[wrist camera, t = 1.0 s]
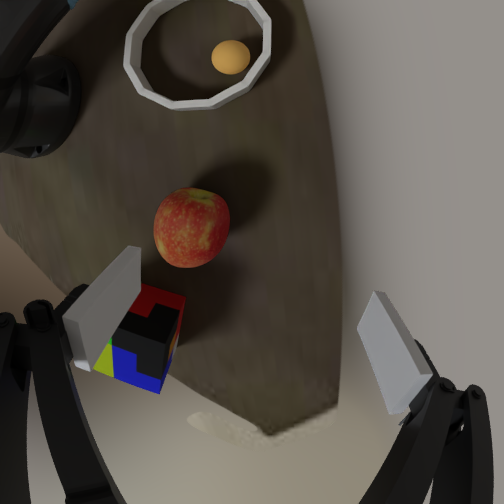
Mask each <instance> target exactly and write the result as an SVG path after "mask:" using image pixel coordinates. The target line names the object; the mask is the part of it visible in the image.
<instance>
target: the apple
mask: <svg viewBox="0 0 504 504" xmlns="http://www.w3.org/2000/svg"><path fill="white" fill-rule="evenodd" d="M229 225H230V214H229V209H228V206H227V203H226V202H225V200H224V199H223V198H222V197H220V196H219V195H217V194H215V193H212V192H209V191H206V190H201V189H198V188H192V187H189V188H181V189H178V190H176V191H174V192H172V193H171V194H170V195H168V196H167V197H166V198H165V199H164V200H163V201H162V203H161V204H160V206H159V208H158V210H157V213H156V216H155V221H154V239H155V243H156V246H157V249H158V251H159V253H160V254H161V256H162V257H163V258H164V259H165V260H166V261H167V262H168V263H169V264H171V265H173V266H177V267H183V268H191V267H197V266H200V265H203V264H205V263H207V262H209V261H210V260H212V259H213V258H214V257H215V256H216V255H217V254H218V253H219V252H220V251H221V249H222V247H223V246H224V244H225V242H226V239H227V236H228V232H229Z"/></svg>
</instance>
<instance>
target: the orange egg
mask: <svg viewBox="0 0 504 504" xmlns="http://www.w3.org/2000/svg"><path fill="white" fill-rule="evenodd" d="M249 61H250V52H249V50H248V48H247V47H246V46H245V45H244V44H243V43H241V42H239V41H235V40H228V41H224V42H222V43H220V44H218V45H217V46H216V47H215V49H214V50H213V52H212V63H213V65H214V67H215V68H216V69H217V70H218V71H220V72H222V73H225V74H236V73H239V72H241V71H243V70H244V69H245V68H246V67H247V66H248V64H249Z"/></svg>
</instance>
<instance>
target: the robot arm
mask: <svg viewBox="0 0 504 504" xmlns="http://www.w3.org/2000/svg"><path fill="white" fill-rule="evenodd" d="M77 1H78V0H0V153H2V152H3V153H7V154H11V155H15V156H19V157H23V158H36V157H41V156H45V155H48V154H50V153H52V152H53V151H55V150H56V149H57V148H58V147H59V146H60V145H61V144H62V143H63V142H64V140H65V139H66V138H67V136H68V135H69V133H70V131H71V129H72V127H73V125H74V123H75V120H76V117H77V114H78V110H79V105H80V98H81V84H80V78H79V74H78V72H77V69H76V68H75V66H74V65H73V63H72V62H71V61H69V60H68V59H66V58H64V57H60V56H55V55H43V56H39V57H35V58H32V56H33V55H34V54H35V52H36V51H37V49H38V48H39V47H40V45H41V44H42V43H43V41H44V40H45V39H46V37H47V36H48V35H49V33H50V32H51V31H52V30H53V29H54V27H55V26H56V25H57V24H58V23H59V22H60V20H61V19H62V18H63V17H64V16H65V15H66V14H67V13H68V12H69V10H70V9H71V10H72V9H73V8H74V7H75V4H76V3H77ZM140 291H141V248H139V247H134V246H129V245H128V246H127V247H126V248H125V249H124V250H123V251H122V252H121V253H120V254H119V255H118V256H117V257H116V258H115V260H114V261H113V262H112V263H111V264H110V265H109V266H108V267H107V268H106V269H105V270H104V271H103V272H102V273H101V274H100V275H99V276H98V277H97V278H96V279H95V280H94V281H93V283H92V284H91V285H86V284H82V285H80V286H78V287H76V288H74V289H73V290H72V291H71V292H70V293H69V296H67V297H66V298H65V299H64V301H62V302H61V303H60V305H58V306H57V307H56V309H55V310H53V306H52V304H51V303H50V302H49V301H46V300H35V301H32V302H30V303H28V304H27V305H26V306H25V308H24V311H23V313H24V317H25V320H26V323H27V324H21V323H20V324H19V323H16V320H15V317H14V316H13V315H12V314H11V313H7V312H3V313H0V504H31V499H30V491H29V483H28V470H27V442H26V441H27V435H26V434H27V410H28V396H29V386H30V377H31V371H32V372H33V379H34V385H35V391H36V396H37V402H38V407H39V411H40V416H41V420H42V424H43V428H44V432H45V436H46V439H47V443H48V446H49V449H50V452H51V456H52V459H53V462H54V465H55V468H56V470H57V473H58V476H59V478H60V481H61V483H62V486H63V489H64V491H65V494H66V499H65V503H66V504H127V503H126V502H125V500H124V498H123V496H122V495H121V493H120V491H119V489H118V487H117V486H116V484H115V482H114V480H113V478H112V476H111V474H110V472H109V470H108V468H107V466H106V464H105V462H104V460H103V458H102V455H101V453H100V451H99V448H98V447H97V444H96V441H95V439H94V437H93V434H92V432H91V429H90V427H89V424H88V421H87V419H86V416H85V413H84V411H83V408H82V405H81V402H80V398H79V395H78V392H77V389H76V386H75V383H74V379H73V375H72V372H71V368H70V365H69V363H70V361H71V360H72V358H73V359H74V362H75V364H76V366H77V367H79V368H82V369H84V370H87V371H90V372H91V371H92V369H93V367H94V365H95V364H96V362H97V360H98V359H99V357H100V355H101V353H102V352H103V350H104V348H105V347H106V345H107V343H108V342H109V340H110V338H111V337H112V335H113V334H114V332H115V330H116V329H117V327H118V326H119V324H120V322H121V321H122V319H123V318H124V316H125V314H126V313H127V311H128V310H129V308H130V307H131V305H132V304H133V302H134V300H135V299H136V297H137V296H138V294H139V293H140ZM357 330H358V332H359V334H360V337H361V340H362V342H363V345H364V347H365V350H366V352H367V355H368V357H369V360H370V363H371V365H372V368H373V371H374V373H375V376H376V379H377V381H378V384H379V387H380V390H381V392H382V395H383V398H384V401H385V404H386V407H387V409H388V413H389V414H399V413H402V412H403V411H404V410H405V409H406V408H407V407H408V405H409V407H410V410H411V412H409V414H408V415H407V416H406V417H405V418H404V419H403V420H402V421H401V422H400V424H399V425H401V424H402V423H403V425H402V428H401V430H400V432H399V434H398V436H397V438H396V440H395V442H394V444H393V446H392V448H391V450H390V452H389V454H388V456H387V458H386V460H385V461H384V463H383V465H382V467H381V469H380V470H379V472H378V474H377V475H376V477H375V479H374V480H373V482H372V484H371V485H370V487H369V488H368V490H367V492H366V493H365V495H364V496H363V498H362V499H361V501H360V502H359V504H423V502H424V500H425V497H426V495H427V493H428V490H429V488H430V485H431V483H432V480H433V486H432V493H431V498H430V503H429V504H493V488H494V482H493V481H494V473H493V450H492V438H491V428H490V421H489V415H488V407H487V401H486V396H485V393H484V392H483V390H482V389H481V388H480V387H479V386H477V385H473V384H472V385H470V386H469V387H468V388H467V389H466V390H465V391H460V390H456V387H455V385H454V384H453V383H452V382H451V381H450V380H449V379H447V378H444V377H440V376H439V374H438V372H437V370H436V369H435V367H434V365H433V363H432V361H431V360H430V358H429V356H428V355H427V354H426V351H425V350H424V348H423V346H422V345H421V344H420V343H419V342H418V341H417V340H415V339H413V337H412V336H411V334H410V332H409V330H408V329H407V327H406V326H405V324H404V322H403V321H402V319H401V317H400V316H399V314H398V313H397V311H396V309H395V308H394V306H393V304H392V303H391V301H390V300H389V298H388V297H387V295H386V294H385V293H384V292H379V291H373V294H372V296H371V298H370V301H369V303H368V305H367V308H366V310H365V312H364V314H363V316H362V318H361V320H360V323H359V325H358V327H357ZM463 424H464V427H463V430H462V431H461V426H462V425H463ZM433 477H434V478H433Z"/></svg>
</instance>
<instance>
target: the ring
mask: <svg viewBox="0 0 504 504" xmlns="http://www.w3.org/2000/svg"><path fill="white" fill-rule="evenodd" d="M184 1H185V0H154V1H152V2H150V3H149V4H147V5H146V6H145V8H144V9H143V10H142V12H141V13H140V15H139V16H138V17H137V19H136V20H135V22H134V23H133V25H132V26H131V28H130V29H129V31H128V32H127V34H126V41H125V51H124V63H123V66H124V69H125V70H126V72H127V74H128V76H129V78H130V79H131V81H132V83H133V85H134V86H135V88H136V90H137V92H138V93H139V94H140V95H142V96H145V97H147V98H149V99H151V100H153V101H155V102H157V103H159V104H161V105H163V106H165V107H167V108H169V109H173V110H177V111H185V110H204V109H217V108H219V107H220V106H222V105H224V104H226V103H228V102H229V101H231V100H233V99H235V98H237V97H239V96H241V95H243V94H245V93H246V92H248V91H249V90H251V88H252V87H253V85H254V84H255V82H256V81H257V79H258V78H259V77H260V75H261V74H262V72H263V71H264V69H265V68H266V67H267V65H268V64H269V62H270V58H271V19H270V17H269V16H268V14H267V13H266V12H265V10H264V9H263V8H262V6H261V5H260V4H259V3H258V1H257V0H229V1H232V2H234V3H237V4H239V5H242V6H244V7H247V8H248V10H249V11H250V12H251V14H252V15H253V16H254V18H255V19H256V20H257V22H258V23H259V25H260V26H261V27H262V29H263V52H262V54H261V55H260V56H259V58H258V59H257V61H256V62H255V64H254V65H253V66H252V68H251V69H250V71H249V72H248V74H247V75H246V77H245V78H244V80H243V81H241V82H239V83H237V84H236V85H234V86H232V87H230V88H228V89H226V90H224V91H223V92H221V93H219V94H217V95H215V96H214V97H212V98H210V99H202V100H186V101H173V100H171V99H169V98H167V97H165V96H163V95H160V94H158V93H156V92H154V91H153V89H152V87H151V86H150V84H149V82H148V80H147V79H146V77H145V75H144V74H143V72H142V70H141V68H140V66H141V52H142V41H143V39H144V38H145V36H146V35H147V33H148V32H149V30H150V29H151V27H152V26H153V24H154V23H155V22H156V20H157V19H158V17H159V16H160V15H162V14H164V13H165V12H167V11H169V10H170V9H172V8H174V7H176V6H177V5H179V4H181V3H183V2H184Z"/></svg>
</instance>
